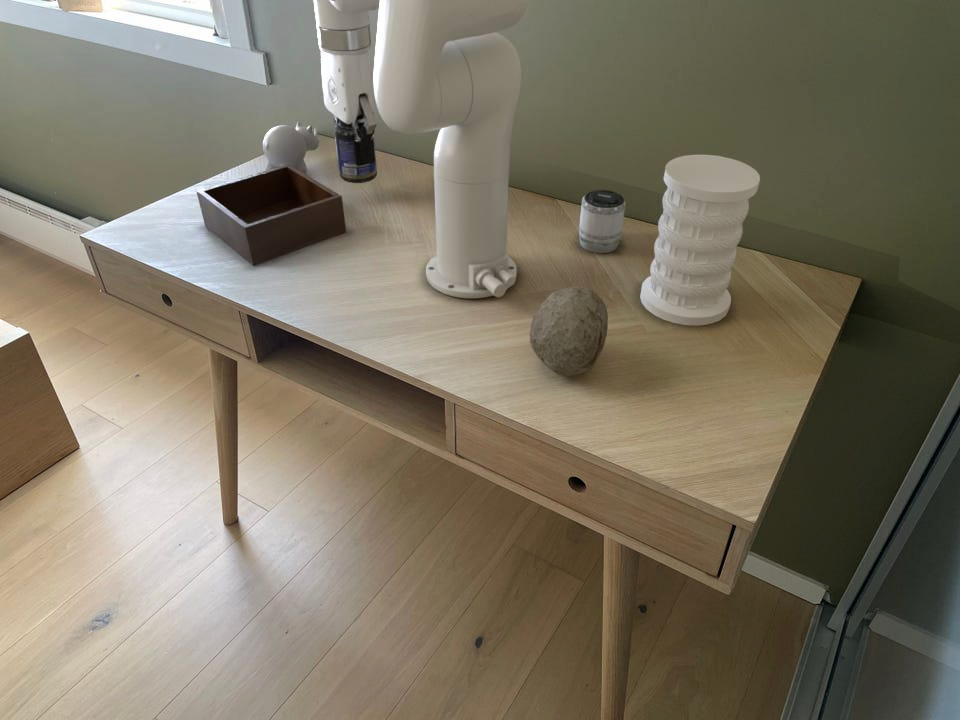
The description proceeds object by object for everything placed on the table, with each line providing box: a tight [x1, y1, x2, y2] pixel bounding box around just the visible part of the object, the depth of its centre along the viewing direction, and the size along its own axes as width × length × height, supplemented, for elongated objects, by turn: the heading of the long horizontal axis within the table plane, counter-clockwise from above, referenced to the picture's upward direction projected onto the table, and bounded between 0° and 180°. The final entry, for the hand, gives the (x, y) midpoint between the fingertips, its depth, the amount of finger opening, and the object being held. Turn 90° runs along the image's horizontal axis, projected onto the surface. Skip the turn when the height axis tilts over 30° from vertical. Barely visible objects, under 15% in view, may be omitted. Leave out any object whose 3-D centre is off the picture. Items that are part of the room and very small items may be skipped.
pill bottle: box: [333, 115, 378, 184], centre depth 114 cm, size 6×6×11 cm
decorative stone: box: [529, 285, 609, 377], centre depth 81 cm, size 10×8×10 cm
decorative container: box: [639, 154, 761, 327], centre depth 90 cm, size 12×12×18 cm
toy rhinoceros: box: [262, 121, 320, 174], centre depth 126 cm, size 7×12×8 cm, turn 148°
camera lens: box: [578, 189, 627, 254], centre depth 105 cm, size 6×6×8 cm
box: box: [195, 164, 347, 266], centre depth 108 cm, size 16×16×6 cm
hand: (356, 155), depth 115 cm, fingers closed on pill bottle, 6 cm apart
